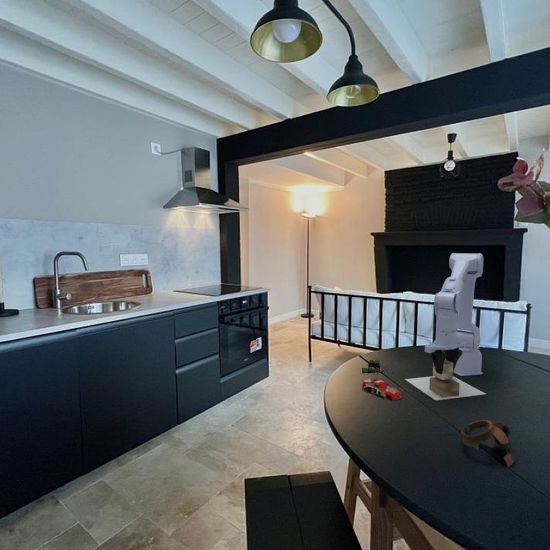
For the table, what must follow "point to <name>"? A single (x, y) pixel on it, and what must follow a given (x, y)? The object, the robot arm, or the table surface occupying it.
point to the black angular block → (371, 370)
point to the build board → (463, 392)
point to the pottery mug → (489, 437)
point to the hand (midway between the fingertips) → (444, 372)
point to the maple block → (445, 371)
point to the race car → (381, 389)
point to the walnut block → (444, 387)
